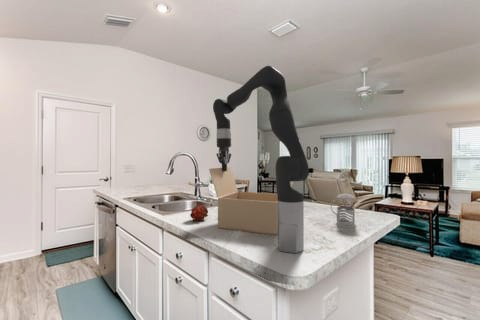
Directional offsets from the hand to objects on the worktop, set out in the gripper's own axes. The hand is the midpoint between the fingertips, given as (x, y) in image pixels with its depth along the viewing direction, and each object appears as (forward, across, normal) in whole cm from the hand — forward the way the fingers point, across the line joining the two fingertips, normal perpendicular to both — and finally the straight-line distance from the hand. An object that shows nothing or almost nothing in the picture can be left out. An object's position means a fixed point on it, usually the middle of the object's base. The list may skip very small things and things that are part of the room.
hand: (224, 171), depth 125 cm
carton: (+26, -1, -16) cm, 31 cm away
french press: (+27, +15, -56) cm, 64 cm away
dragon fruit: (+26, -4, +14) cm, 29 cm away
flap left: (+5, -1, -1) cm, 5 cm away
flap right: (+5, -1, -33) cm, 34 cm away
